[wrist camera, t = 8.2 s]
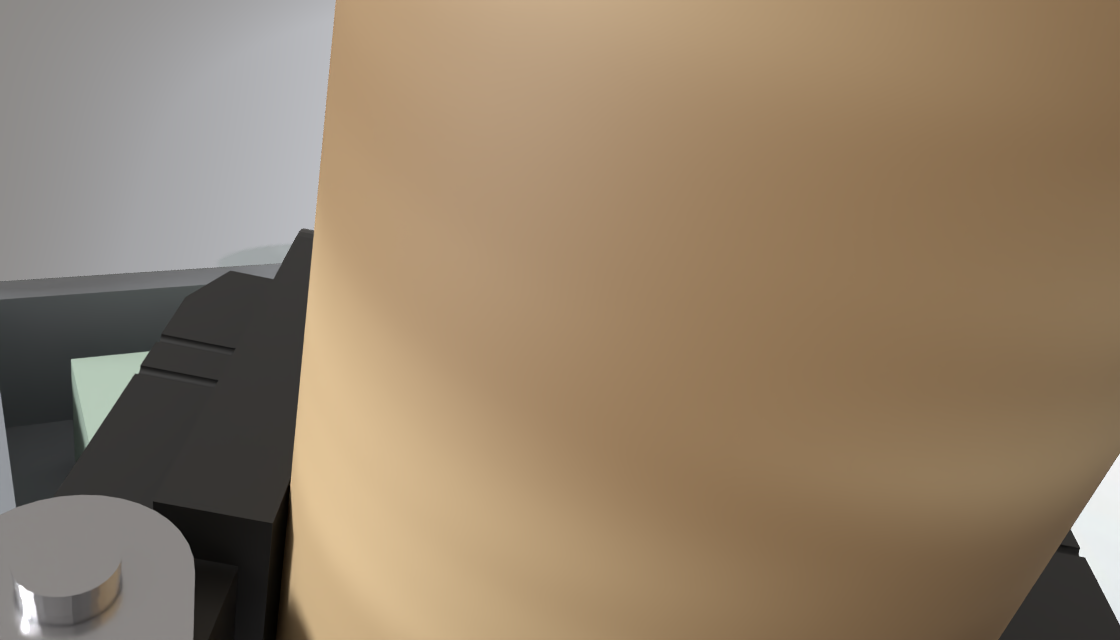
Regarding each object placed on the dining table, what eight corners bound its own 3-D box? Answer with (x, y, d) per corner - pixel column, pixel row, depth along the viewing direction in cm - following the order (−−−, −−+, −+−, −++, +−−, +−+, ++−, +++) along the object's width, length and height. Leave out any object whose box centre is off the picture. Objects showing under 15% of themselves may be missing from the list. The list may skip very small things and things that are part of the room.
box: (461, 374, 44) (486, 250, 40) (695, 736, 31) (758, 598, 28) (-35, 436, 35) (-53, 284, 32) (14, 977, 22) (-5, 815, 19)
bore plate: (423, 409, 40) (439, 322, 37) (569, 660, 31) (600, 566, 29) (74, 459, 34) (70, 358, 32) (140, 784, 25) (140, 678, 23)
